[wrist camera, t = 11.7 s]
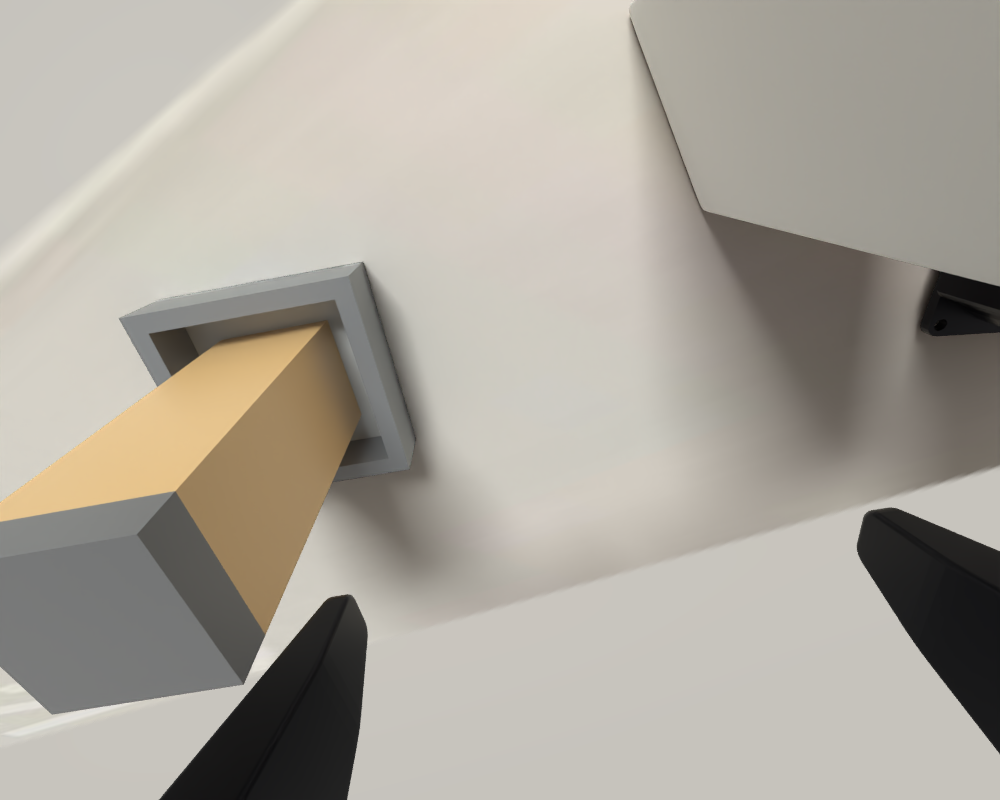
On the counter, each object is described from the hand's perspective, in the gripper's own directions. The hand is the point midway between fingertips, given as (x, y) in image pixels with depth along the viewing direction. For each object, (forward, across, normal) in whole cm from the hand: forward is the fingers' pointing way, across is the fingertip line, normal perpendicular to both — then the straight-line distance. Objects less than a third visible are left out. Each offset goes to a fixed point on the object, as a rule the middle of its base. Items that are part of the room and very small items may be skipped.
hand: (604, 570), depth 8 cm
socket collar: (+13, +10, 0) cm, 16 cm away
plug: (+13, +10, 0) cm, 16 cm away
